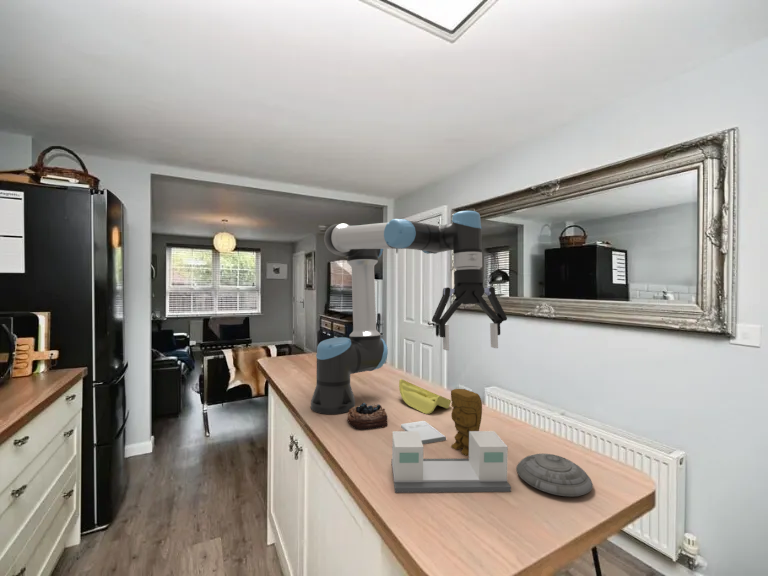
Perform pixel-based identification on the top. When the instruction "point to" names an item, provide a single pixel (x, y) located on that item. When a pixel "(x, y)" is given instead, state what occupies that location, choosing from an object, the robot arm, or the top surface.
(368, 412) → the pastry
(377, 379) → the top surface
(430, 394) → the plastic component
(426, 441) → the external hard drive
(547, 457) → the flying saucer
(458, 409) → the figurine
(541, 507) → the top surface
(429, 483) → the rail board
